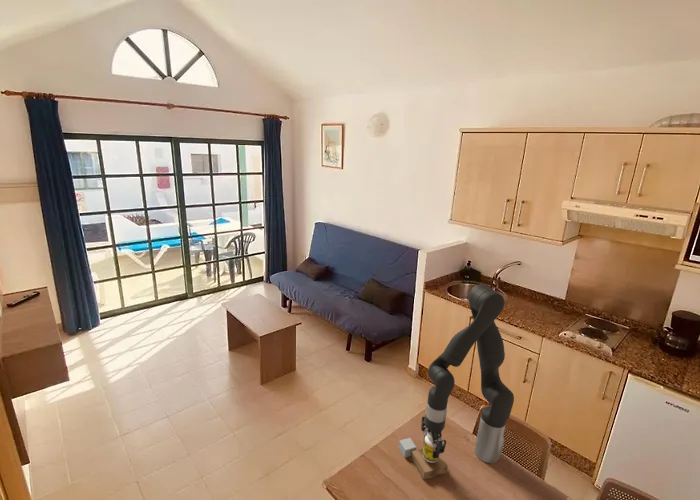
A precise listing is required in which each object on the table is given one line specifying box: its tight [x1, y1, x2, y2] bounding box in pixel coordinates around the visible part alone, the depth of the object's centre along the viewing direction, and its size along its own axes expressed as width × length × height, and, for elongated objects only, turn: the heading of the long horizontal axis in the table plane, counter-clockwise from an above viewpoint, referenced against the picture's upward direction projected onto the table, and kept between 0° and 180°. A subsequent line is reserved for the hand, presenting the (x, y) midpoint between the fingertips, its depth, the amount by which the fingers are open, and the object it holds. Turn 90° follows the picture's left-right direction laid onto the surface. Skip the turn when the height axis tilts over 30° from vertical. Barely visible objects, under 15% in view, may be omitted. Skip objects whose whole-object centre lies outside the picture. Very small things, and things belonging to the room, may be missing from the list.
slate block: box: [398, 437, 417, 459], centre depth 147 cm, size 5×5×4 cm
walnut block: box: [410, 448, 448, 480], centre depth 141 cm, size 10×10×4 cm
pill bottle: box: [422, 432, 439, 463], centre depth 139 cm, size 6×6×11 cm
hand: (430, 450), depth 139 cm, fingers closed on pill bottle, 6 cm apart
